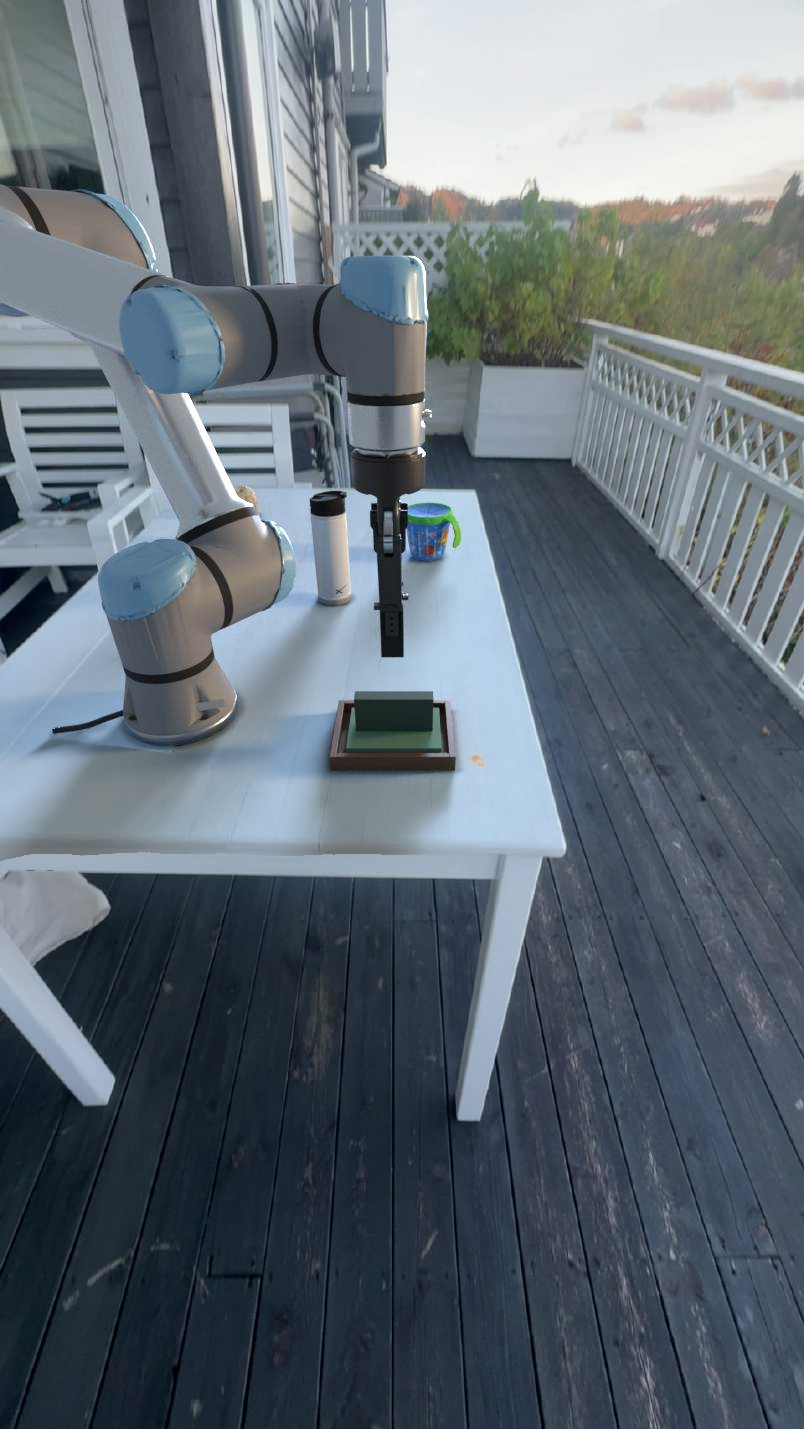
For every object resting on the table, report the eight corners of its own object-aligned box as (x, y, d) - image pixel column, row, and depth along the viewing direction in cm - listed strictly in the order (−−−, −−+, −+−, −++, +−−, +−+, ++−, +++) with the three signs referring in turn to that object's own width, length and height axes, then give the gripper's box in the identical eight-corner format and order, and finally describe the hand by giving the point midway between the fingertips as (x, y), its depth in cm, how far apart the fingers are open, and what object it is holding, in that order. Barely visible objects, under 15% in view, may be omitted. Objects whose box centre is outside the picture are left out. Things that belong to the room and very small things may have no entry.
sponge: (261, 533, 162) (272, 495, 161) (236, 520, 153) (248, 480, 152) (235, 527, 166) (246, 490, 165) (209, 514, 157) (220, 475, 156)
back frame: (330, 770, 78) (329, 757, 77) (339, 712, 89) (338, 700, 87) (455, 770, 78) (455, 756, 77) (449, 712, 88) (450, 699, 87)
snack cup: (384, 554, 138) (383, 507, 132) (416, 541, 145) (416, 496, 139) (439, 572, 130) (440, 523, 124) (470, 557, 136) (472, 510, 130)
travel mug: (348, 607, 116) (340, 498, 105) (314, 604, 117) (303, 496, 106) (356, 593, 121) (350, 488, 110) (324, 591, 122) (314, 486, 111)
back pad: (346, 757, 79) (343, 715, 76) (352, 716, 87) (349, 676, 83) (441, 757, 79) (442, 715, 75) (438, 716, 86) (439, 676, 83)
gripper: (427, 463, 57) (424, 683, 70) (424, 433, 67) (422, 629, 81) (344, 464, 57) (358, 683, 70) (354, 434, 68) (364, 629, 81)
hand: (392, 654), depth 76 cm, fingers closed
